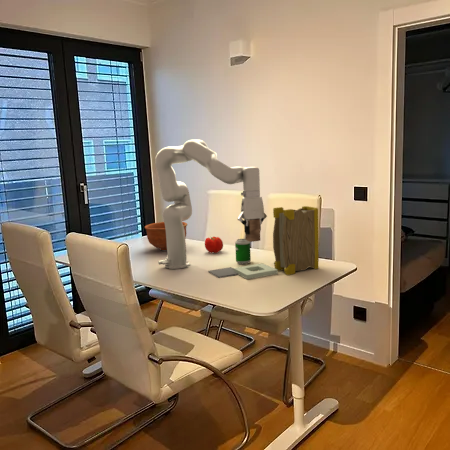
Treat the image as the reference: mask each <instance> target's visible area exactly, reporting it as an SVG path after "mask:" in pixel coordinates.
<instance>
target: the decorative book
mask: <svg viewBox="0 0 450 450" xmlns="http://www.w3.org/2000/svg"><path fill="white" fill-rule="evenodd" d="M272 210H273V212H272V213H273V214H272V215H273V218H274V225H273V230H272V231H273V232H272V247H273V253H274V259H275V260H274V268H275V269H277V270H278V271H283V270H284V275H286V276H290V275H295V274H296V272H298V271H306V270H307V269H308V268H312V269H313V270H318V269H319V208H318V207H315V206H308V205H307V206H306V205H305V206H304V205H303V206H301V208H298V209H292V208H288V209H284V207H282V206H281V207H280V206H278V207H273V209H272Z"/></svg>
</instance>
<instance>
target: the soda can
mask: <svg viewBox="0 0 450 450" xmlns="http://www.w3.org/2000/svg"><path fill="white" fill-rule="evenodd" d="M234 243H235V245H234V246H235V247H234V249H235V262H236V263H237V264H238V265H247V264H250V262H251V260H252V258H251V242H250V241H247V240H246V238H238V239H236V241H234Z"/></svg>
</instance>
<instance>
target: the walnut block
mask: <svg viewBox="0 0 450 450" xmlns="http://www.w3.org/2000/svg"><path fill="white" fill-rule="evenodd" d="M248 226H249V233H250V234H249V235H248V234H245V239H246V240H247V241H250V243H253V242H259V241H261V231H260V219H253V220H249V224H248Z"/></svg>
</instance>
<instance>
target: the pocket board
mask: <svg viewBox="0 0 450 450" xmlns="http://www.w3.org/2000/svg"><path fill="white" fill-rule="evenodd" d="M232 268H233V271H235V272H236V273H238V276H240V277H242V278H244V279H246V280H250V279H256V278H261V277H268V276H273V275H274V276H275V275H278V270H277V269H275V267H272V266H270V265H267V264H265V263H262V262H261V263H255V264H249V265H245V266H239V267H232Z"/></svg>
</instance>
